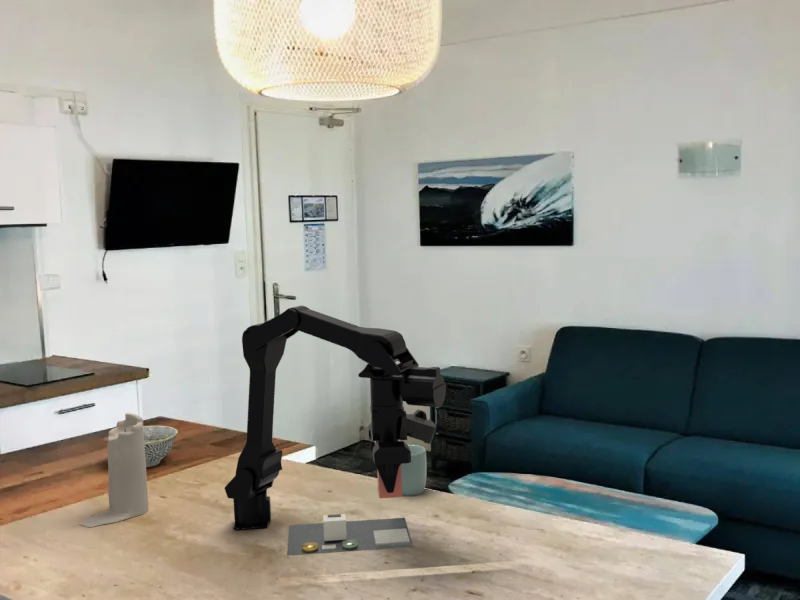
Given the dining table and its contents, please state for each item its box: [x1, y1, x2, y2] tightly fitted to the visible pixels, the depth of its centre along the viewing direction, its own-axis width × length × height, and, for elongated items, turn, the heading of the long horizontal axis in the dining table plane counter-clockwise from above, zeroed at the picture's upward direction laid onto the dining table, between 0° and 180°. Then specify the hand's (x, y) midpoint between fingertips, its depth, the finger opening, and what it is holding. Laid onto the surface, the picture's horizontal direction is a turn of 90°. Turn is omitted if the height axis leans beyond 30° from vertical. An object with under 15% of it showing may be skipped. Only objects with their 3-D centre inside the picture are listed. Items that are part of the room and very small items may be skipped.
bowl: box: [143, 425, 178, 468], centre depth 204 cm, size 16×16×8 cm
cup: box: [401, 444, 427, 496], centre depth 175 cm, size 8×8×10 cm
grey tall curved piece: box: [79, 412, 149, 528], centre depth 167 cm, size 7×14×20 cm, turn 137°
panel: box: [286, 517, 414, 557], centre depth 152 cm, size 22×14×2 cm, turn 96°
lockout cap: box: [376, 465, 403, 499], centre depth 148 cm, size 4×4×6 cm
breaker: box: [322, 513, 347, 541], centre depth 150 cm, size 4×3×4 cm
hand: (389, 488), depth 148 cm, fingers closed on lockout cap, 4 cm apart
